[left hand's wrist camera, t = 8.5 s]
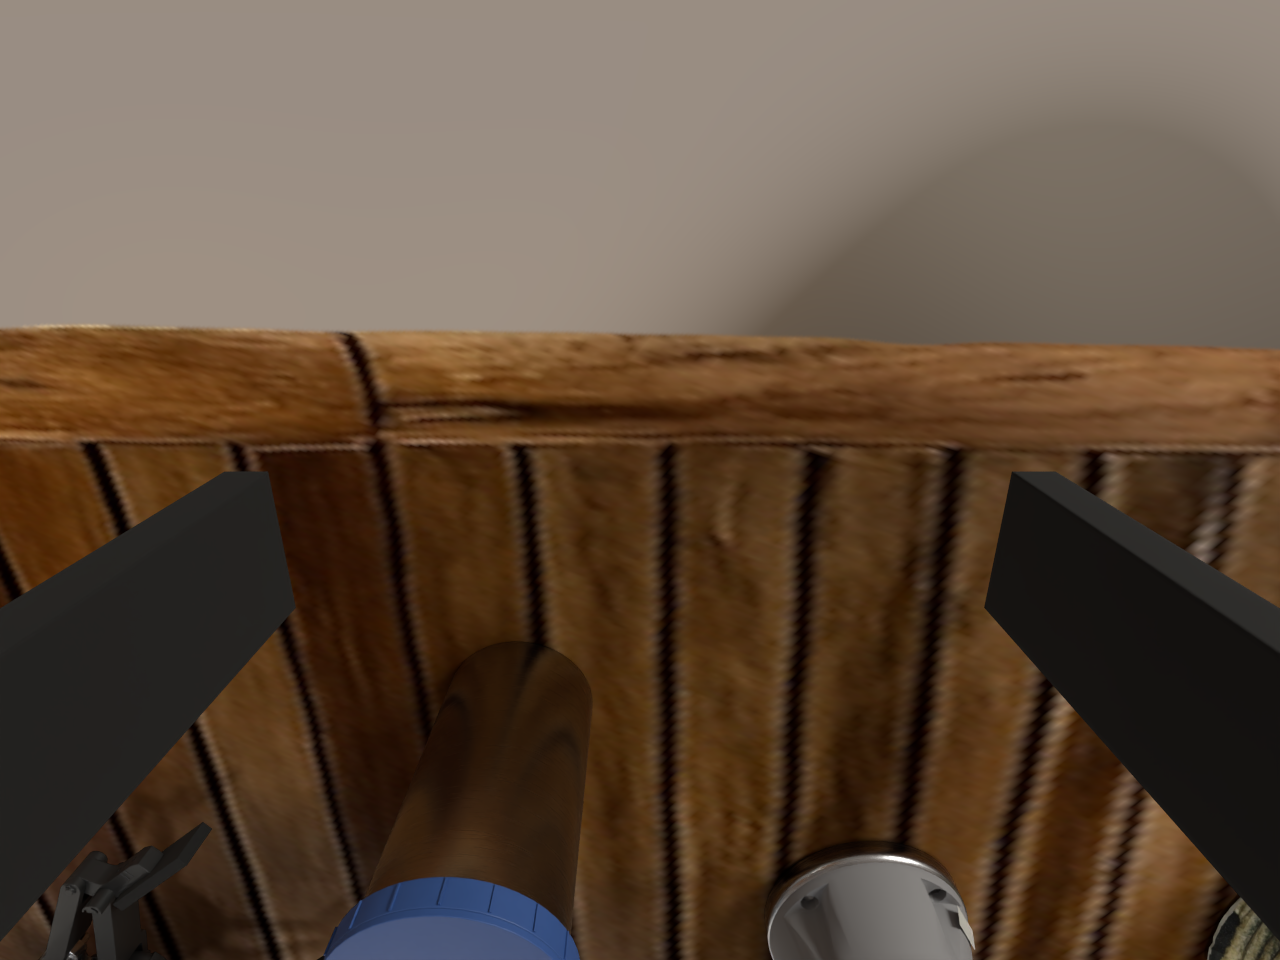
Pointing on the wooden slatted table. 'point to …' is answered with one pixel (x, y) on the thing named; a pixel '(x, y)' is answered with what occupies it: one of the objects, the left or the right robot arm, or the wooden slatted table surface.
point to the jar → (500, 780)
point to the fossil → (1243, 937)
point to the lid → (449, 924)
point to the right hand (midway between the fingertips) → (277, 902)
